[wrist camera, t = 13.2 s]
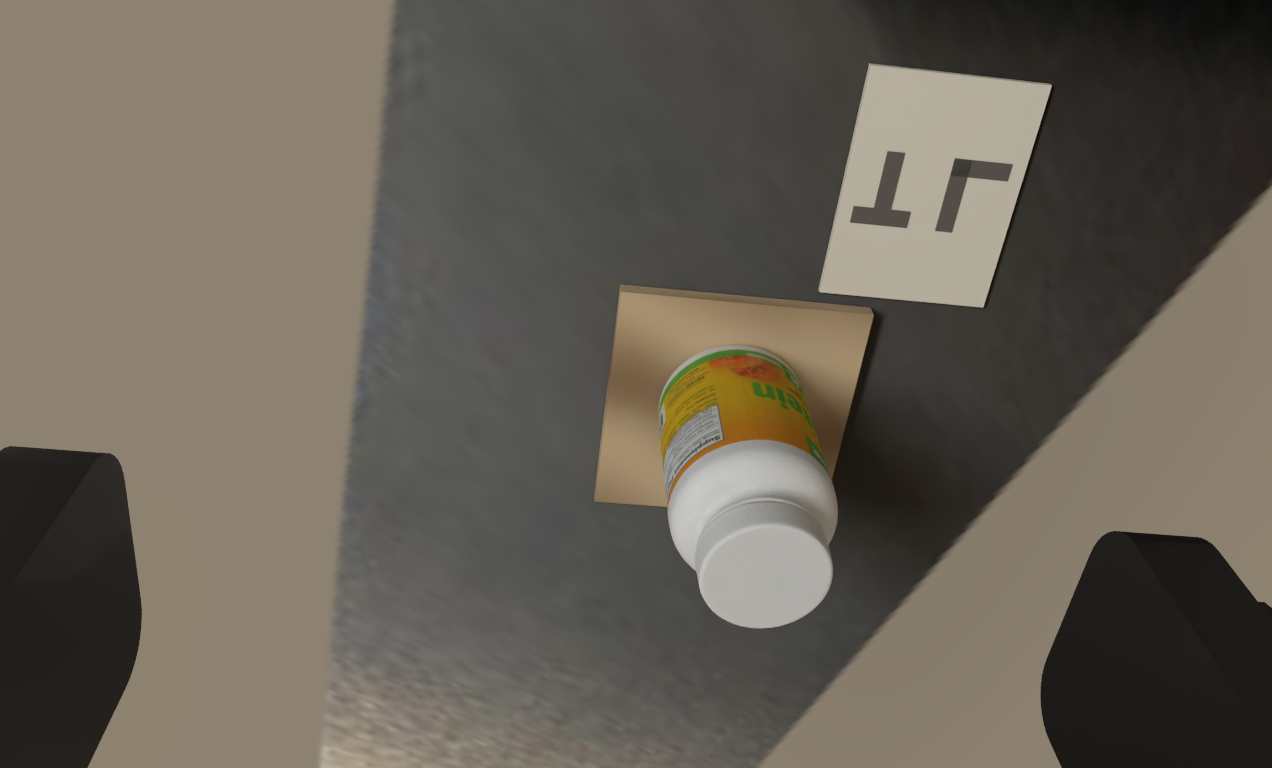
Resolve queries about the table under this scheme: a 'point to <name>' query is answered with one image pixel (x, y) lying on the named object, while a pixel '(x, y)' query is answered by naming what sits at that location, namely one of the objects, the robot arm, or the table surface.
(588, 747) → the table surface
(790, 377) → the supplement bottle
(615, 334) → the oak coaster
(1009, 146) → the tile
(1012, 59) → the table surface
